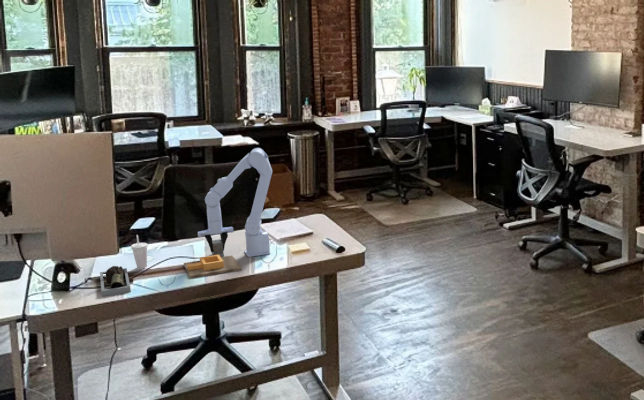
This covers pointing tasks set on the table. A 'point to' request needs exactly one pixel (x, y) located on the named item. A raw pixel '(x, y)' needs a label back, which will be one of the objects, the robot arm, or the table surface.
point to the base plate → (229, 266)
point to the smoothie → (140, 254)
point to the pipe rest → (115, 290)
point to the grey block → (217, 247)
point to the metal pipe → (115, 276)
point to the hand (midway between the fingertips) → (217, 250)
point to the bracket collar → (207, 263)
